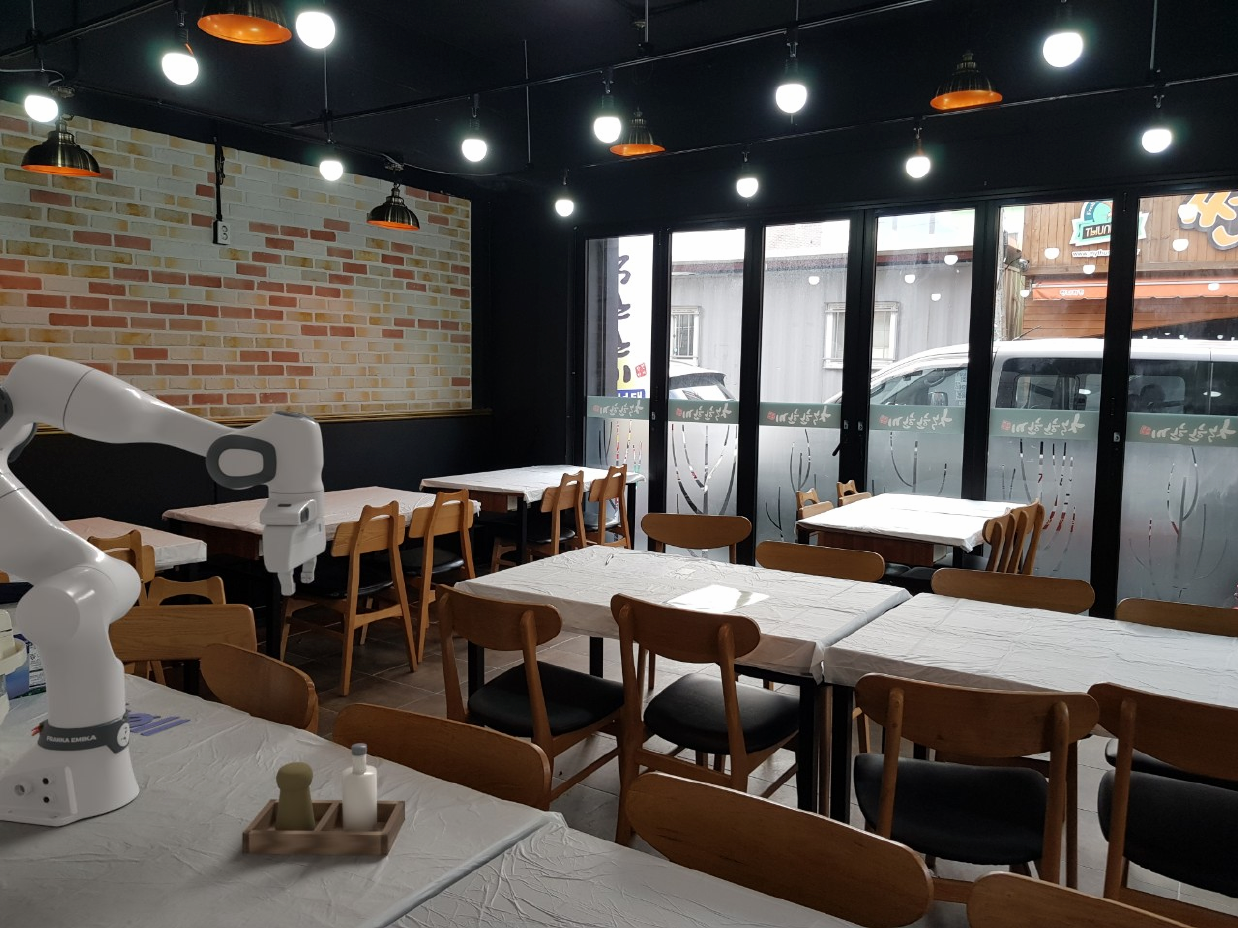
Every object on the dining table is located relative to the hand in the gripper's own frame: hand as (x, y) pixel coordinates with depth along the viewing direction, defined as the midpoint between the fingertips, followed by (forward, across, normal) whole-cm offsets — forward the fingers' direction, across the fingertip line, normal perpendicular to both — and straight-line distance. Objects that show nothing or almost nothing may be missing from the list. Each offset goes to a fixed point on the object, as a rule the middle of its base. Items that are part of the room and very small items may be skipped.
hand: (298, 588), depth 157 cm
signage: (+35, -30, -47) cm, 66 cm away
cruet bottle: (+33, +21, +16) cm, 42 cm away
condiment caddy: (+34, +21, +11) cm, 42 cm away
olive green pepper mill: (+33, +21, +6) cm, 40 cm away
